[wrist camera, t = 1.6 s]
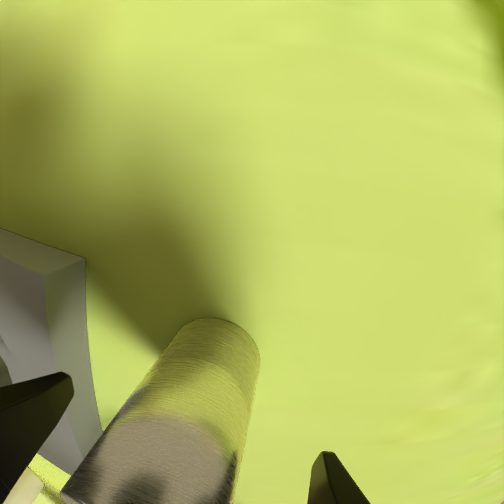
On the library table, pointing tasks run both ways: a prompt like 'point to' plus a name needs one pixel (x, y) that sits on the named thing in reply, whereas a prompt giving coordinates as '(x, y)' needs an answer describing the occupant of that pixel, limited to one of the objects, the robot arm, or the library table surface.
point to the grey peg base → (48, 337)
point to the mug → (25, 489)
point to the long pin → (177, 425)
